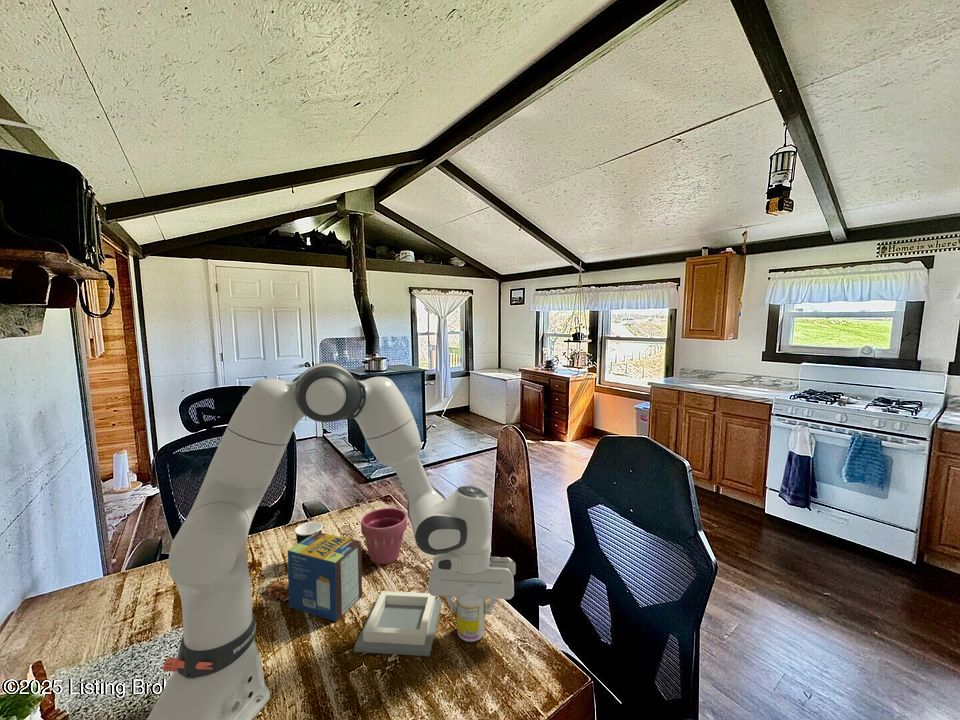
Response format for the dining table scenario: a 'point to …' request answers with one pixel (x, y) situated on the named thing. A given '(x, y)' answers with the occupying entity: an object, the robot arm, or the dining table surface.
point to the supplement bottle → (470, 615)
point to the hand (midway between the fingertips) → (471, 612)
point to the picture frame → (400, 624)
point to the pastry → (275, 590)
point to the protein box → (325, 575)
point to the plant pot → (384, 533)
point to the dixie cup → (307, 530)
